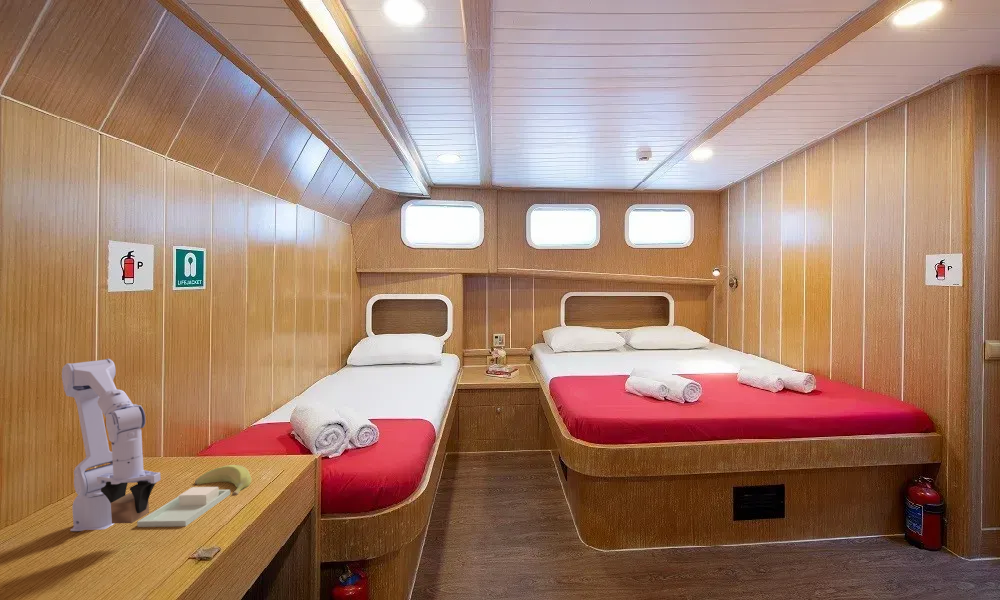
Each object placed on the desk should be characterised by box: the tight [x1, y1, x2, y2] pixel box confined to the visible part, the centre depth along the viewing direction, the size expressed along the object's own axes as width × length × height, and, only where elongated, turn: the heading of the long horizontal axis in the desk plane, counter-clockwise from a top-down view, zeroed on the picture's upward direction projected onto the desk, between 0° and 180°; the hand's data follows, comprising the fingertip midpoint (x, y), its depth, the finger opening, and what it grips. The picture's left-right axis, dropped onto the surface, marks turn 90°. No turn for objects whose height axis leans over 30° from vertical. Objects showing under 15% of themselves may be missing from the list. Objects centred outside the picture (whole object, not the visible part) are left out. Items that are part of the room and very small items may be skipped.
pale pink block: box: [178, 486, 220, 506], centre depth 129 cm, size 8×5×3 cm, turn 88°
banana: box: [194, 464, 252, 496], centre depth 139 cm, size 14×6×20 cm
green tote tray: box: [136, 489, 231, 528], centre depth 124 cm, size 13×18×2 cm
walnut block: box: [111, 492, 150, 524], centre depth 109 cm, size 5×5×5 cm
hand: (130, 511), depth 109 cm, fingers closed on walnut block, 5 cm apart
